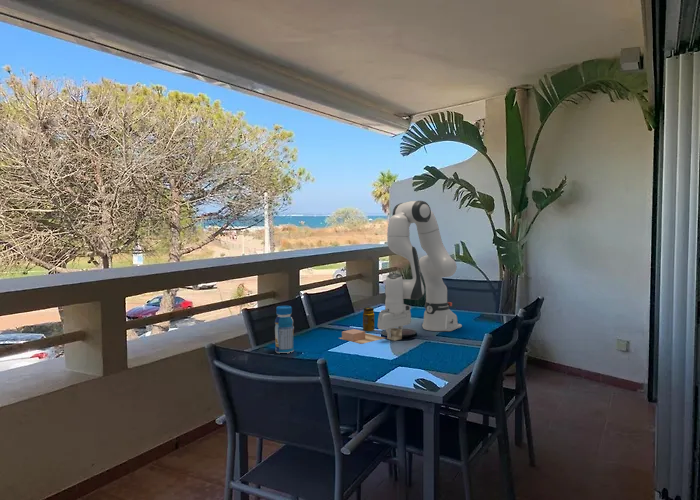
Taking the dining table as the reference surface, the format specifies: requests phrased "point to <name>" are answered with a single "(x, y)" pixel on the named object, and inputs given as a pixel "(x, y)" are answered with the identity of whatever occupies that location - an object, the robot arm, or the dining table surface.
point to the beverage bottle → (284, 330)
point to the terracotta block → (353, 335)
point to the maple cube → (395, 334)
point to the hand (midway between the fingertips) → (394, 336)
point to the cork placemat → (367, 339)
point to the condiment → (368, 319)
